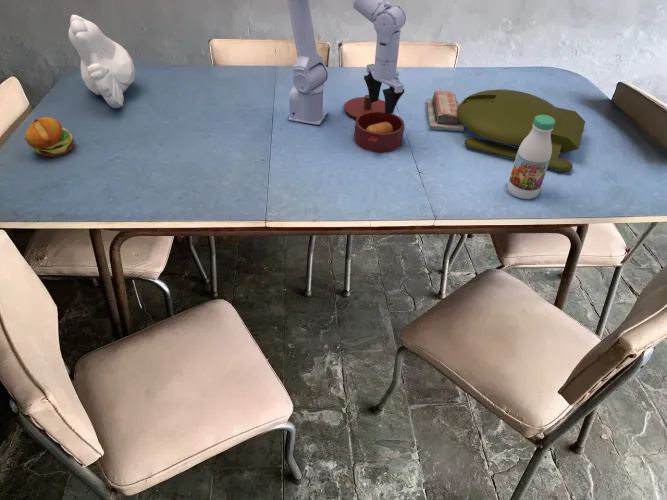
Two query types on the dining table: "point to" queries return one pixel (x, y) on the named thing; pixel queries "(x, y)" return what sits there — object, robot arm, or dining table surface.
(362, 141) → the pot
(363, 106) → the pot lid
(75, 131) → the dining table surface
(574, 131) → the spaceship
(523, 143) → the milk bottle
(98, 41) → the white rounded figure
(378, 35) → the robot arm
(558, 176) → the dining table surface
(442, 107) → the packaged product
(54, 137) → the cheeseburger
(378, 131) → the bread roll
